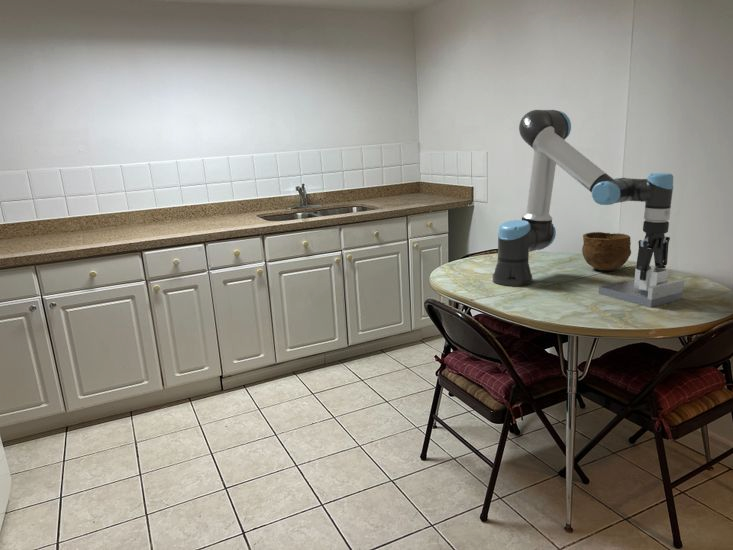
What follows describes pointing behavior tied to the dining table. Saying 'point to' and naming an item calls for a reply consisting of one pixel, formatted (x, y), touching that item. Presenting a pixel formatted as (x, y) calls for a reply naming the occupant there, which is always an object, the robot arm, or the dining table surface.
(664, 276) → the grey block
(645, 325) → the dining table surface
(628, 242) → the bowl
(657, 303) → the ledge
